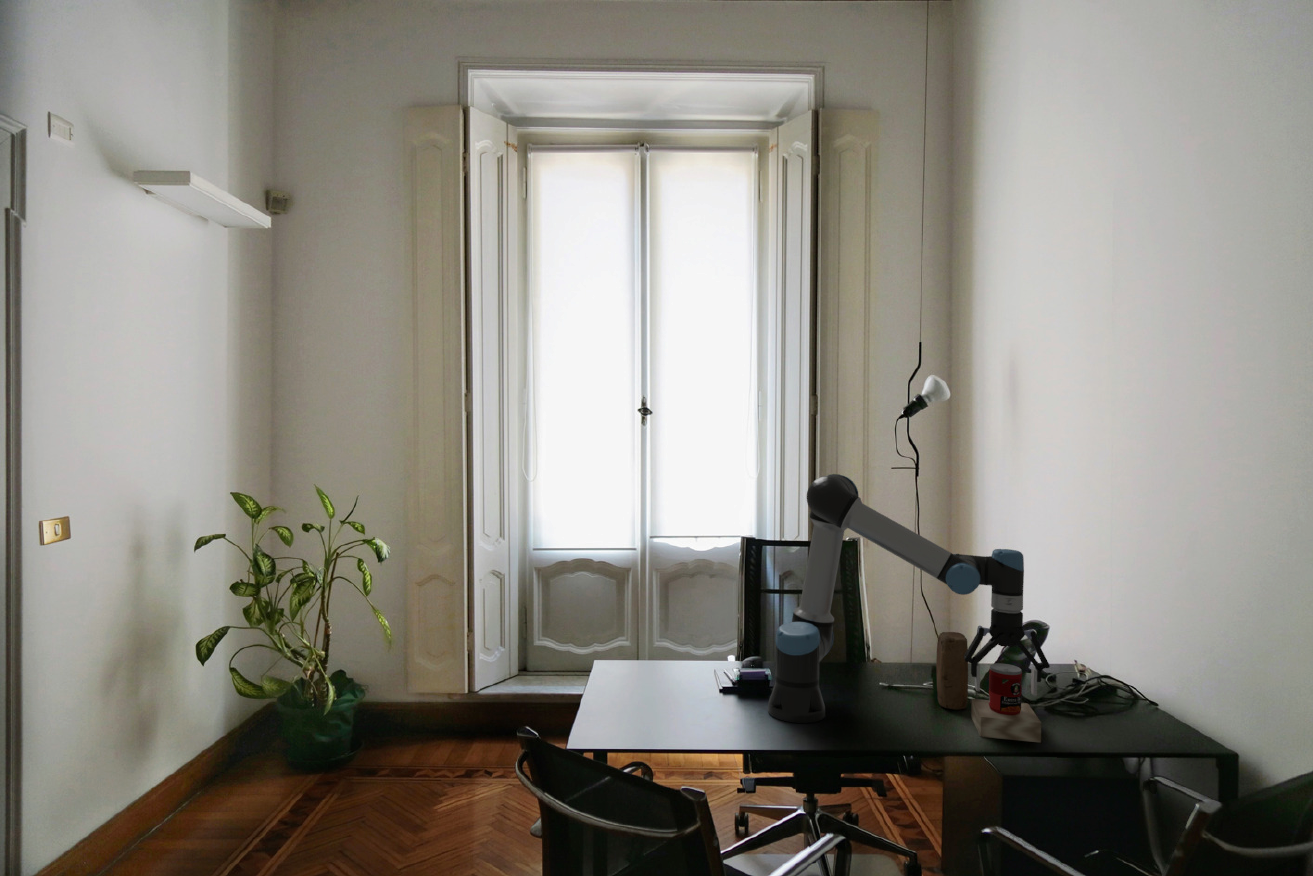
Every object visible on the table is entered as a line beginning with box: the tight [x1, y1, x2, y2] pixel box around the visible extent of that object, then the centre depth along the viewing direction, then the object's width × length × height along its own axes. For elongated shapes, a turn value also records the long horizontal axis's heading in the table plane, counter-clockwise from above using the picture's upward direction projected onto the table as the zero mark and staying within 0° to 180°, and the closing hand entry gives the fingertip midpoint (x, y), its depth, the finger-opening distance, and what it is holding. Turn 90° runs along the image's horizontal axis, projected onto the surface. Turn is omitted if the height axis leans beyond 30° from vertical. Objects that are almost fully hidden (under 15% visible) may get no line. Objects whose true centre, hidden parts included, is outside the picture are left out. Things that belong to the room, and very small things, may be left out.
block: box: [935, 631, 969, 711], centre depth 220 cm, size 11×8×20 cm
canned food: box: [988, 662, 1023, 715], centre depth 201 cm, size 8×8×11 cm
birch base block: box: [970, 698, 1042, 744], centre depth 201 cm, size 14×14×5 cm
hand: (1005, 692), depth 201 cm, fingers open, 13 cm apart
